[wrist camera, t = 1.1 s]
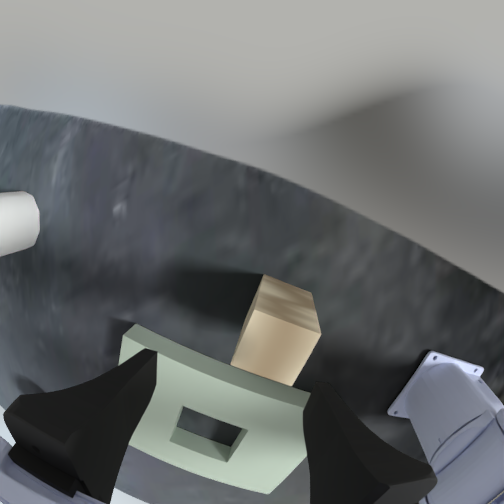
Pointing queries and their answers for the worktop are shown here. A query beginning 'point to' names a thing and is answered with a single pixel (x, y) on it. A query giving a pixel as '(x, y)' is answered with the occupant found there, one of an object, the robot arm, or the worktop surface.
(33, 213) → the fire extinguisher
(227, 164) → the worktop surface
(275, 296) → the beech block
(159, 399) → the well board
